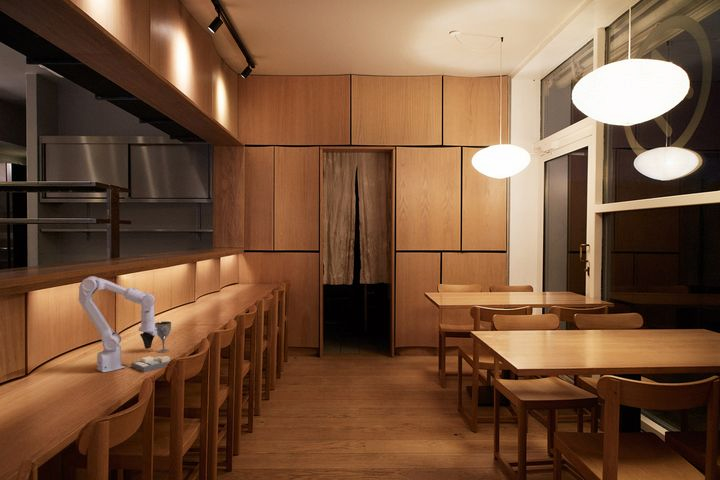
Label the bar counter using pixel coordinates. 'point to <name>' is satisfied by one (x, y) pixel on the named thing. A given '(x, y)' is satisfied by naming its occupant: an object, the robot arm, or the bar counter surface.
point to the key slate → (152, 362)
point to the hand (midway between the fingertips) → (147, 348)
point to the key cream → (147, 359)
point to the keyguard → (148, 366)
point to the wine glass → (163, 333)
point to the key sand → (163, 359)
